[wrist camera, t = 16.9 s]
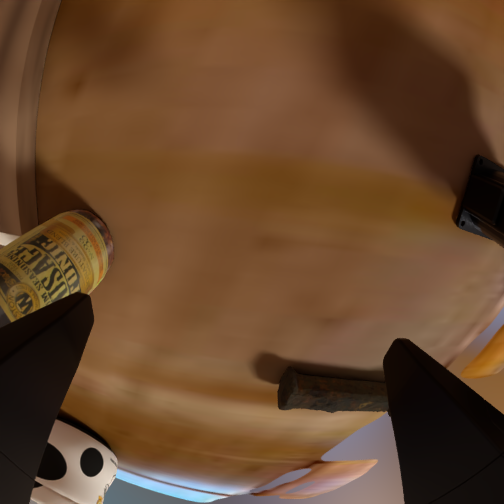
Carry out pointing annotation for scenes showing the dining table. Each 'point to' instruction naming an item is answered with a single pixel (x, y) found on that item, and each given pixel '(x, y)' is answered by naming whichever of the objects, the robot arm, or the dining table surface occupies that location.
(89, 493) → the milk container
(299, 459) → the dining table surface
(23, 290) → the sauce bottle
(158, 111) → the dining table surface
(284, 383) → the hand tool
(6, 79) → the walnut board
